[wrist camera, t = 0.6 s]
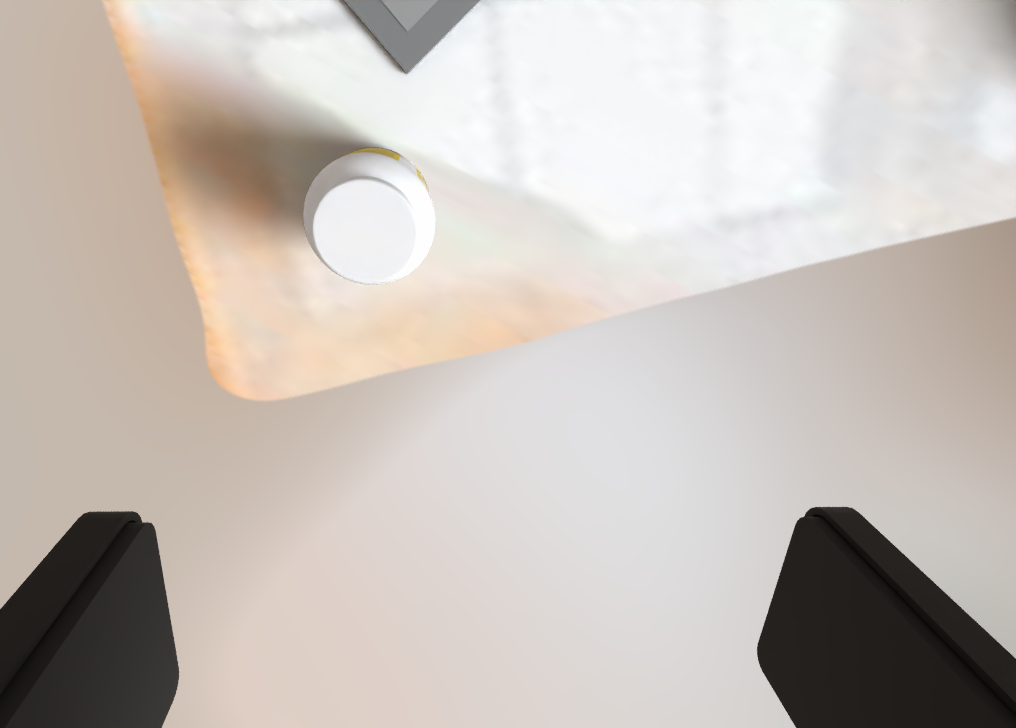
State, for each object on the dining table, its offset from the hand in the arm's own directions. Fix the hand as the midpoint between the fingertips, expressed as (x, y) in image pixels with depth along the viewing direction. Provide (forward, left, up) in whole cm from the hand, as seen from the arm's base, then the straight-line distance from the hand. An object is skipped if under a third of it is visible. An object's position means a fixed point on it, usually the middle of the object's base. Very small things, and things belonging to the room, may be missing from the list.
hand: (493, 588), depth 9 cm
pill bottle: (+1, -4, -33) cm, 33 cm away
